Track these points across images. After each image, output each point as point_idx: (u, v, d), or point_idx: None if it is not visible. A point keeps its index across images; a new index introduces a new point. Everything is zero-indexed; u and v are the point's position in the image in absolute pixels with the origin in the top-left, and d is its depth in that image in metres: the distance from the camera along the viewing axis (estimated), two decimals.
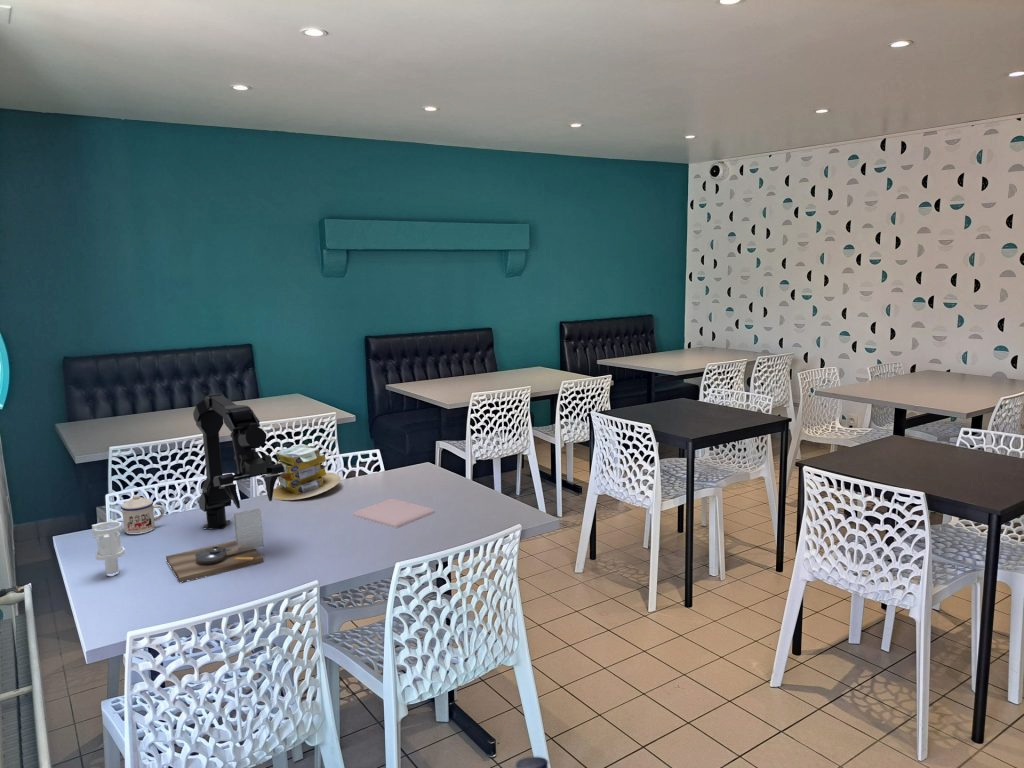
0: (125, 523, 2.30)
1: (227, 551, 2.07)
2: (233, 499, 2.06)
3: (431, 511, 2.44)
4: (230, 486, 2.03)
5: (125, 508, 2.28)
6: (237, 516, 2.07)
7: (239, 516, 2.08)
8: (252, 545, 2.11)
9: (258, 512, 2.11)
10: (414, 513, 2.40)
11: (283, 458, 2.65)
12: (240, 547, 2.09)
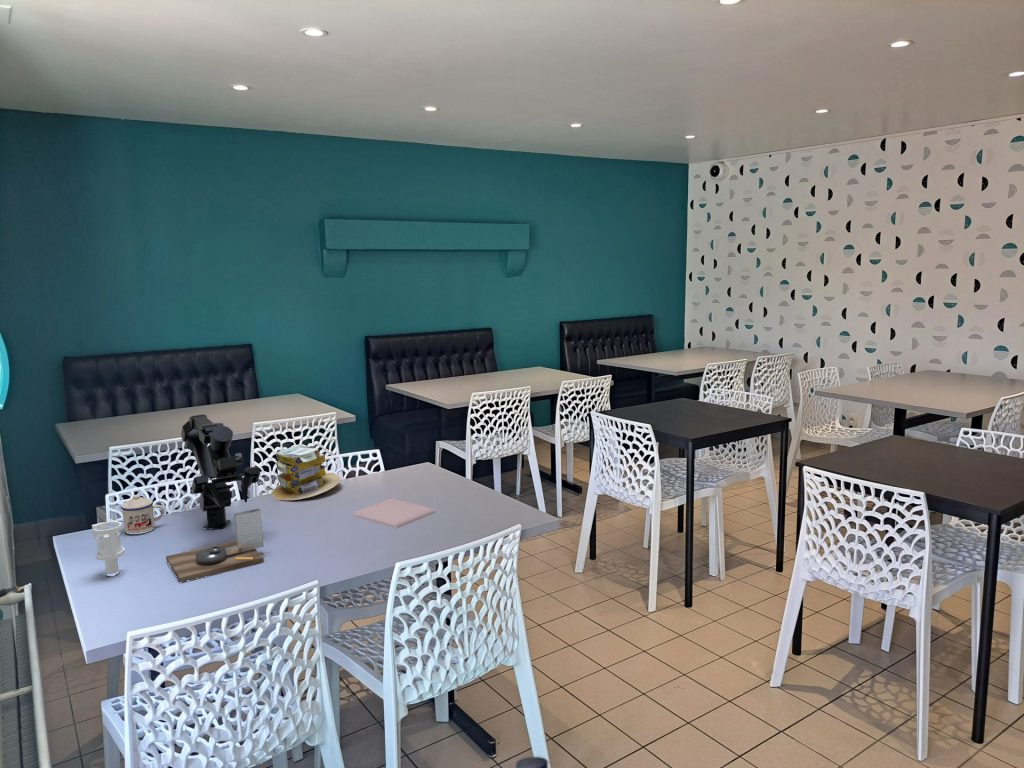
0: (125, 523, 2.30)
1: (227, 551, 2.07)
2: (215, 499, 2.14)
3: (431, 511, 2.44)
4: (209, 484, 2.14)
5: (125, 508, 2.28)
6: (237, 516, 2.07)
7: (239, 516, 2.08)
8: (252, 545, 2.11)
9: (258, 512, 2.11)
10: (414, 513, 2.40)
11: (283, 458, 2.65)
12: (240, 547, 2.09)
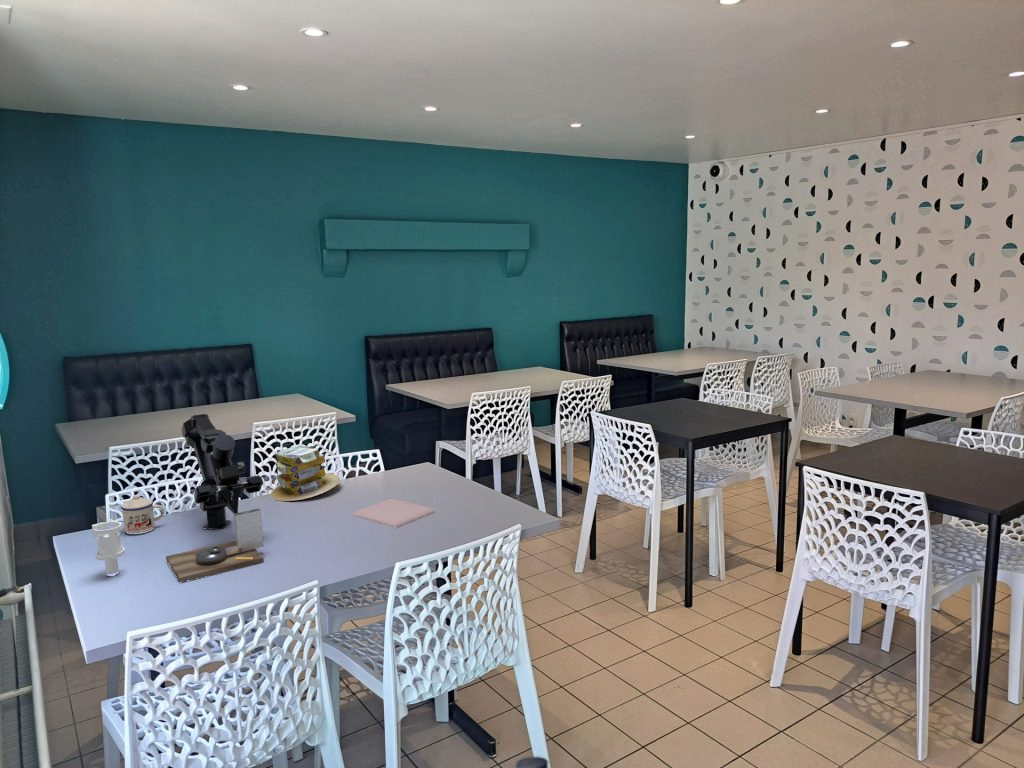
0: (125, 523, 2.30)
1: (227, 551, 2.07)
2: (229, 506, 2.15)
3: (431, 511, 2.44)
4: (223, 491, 2.14)
5: (125, 508, 2.28)
6: (237, 516, 2.07)
7: (239, 516, 2.08)
8: (252, 545, 2.11)
9: (258, 512, 2.11)
10: (414, 513, 2.40)
11: (282, 459, 2.65)
12: (240, 547, 2.09)
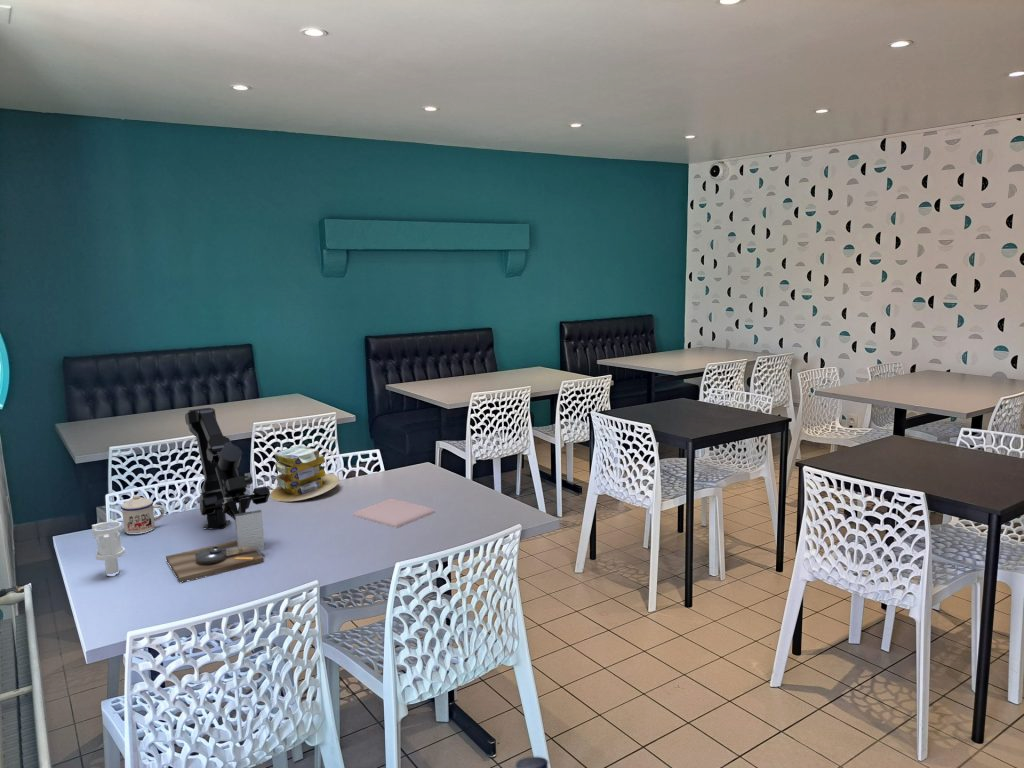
0: (125, 523, 2.30)
1: (227, 551, 2.06)
2: None
3: (431, 511, 2.44)
4: (230, 503, 2.09)
5: (125, 508, 2.28)
6: (237, 517, 2.06)
7: (239, 517, 2.07)
8: (253, 546, 2.10)
9: (259, 514, 2.09)
10: (414, 513, 2.40)
11: (282, 459, 2.64)
12: (240, 548, 2.08)
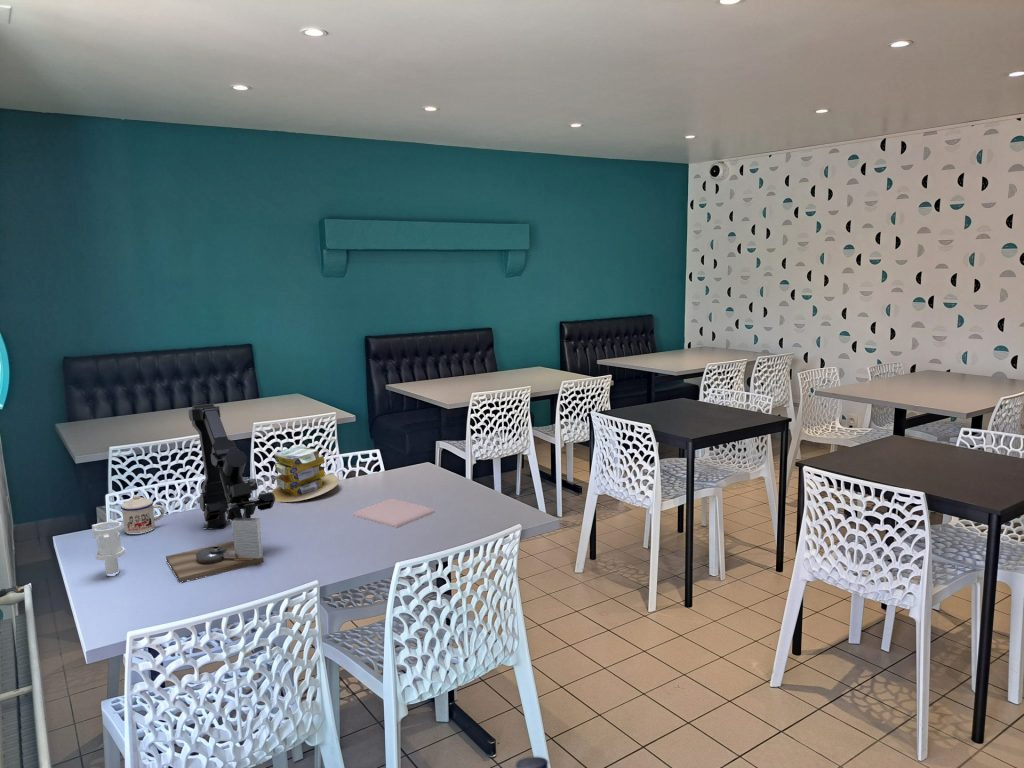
0: (125, 523, 2.30)
1: (224, 554, 2.05)
2: None
3: (431, 511, 2.44)
4: (234, 509, 2.06)
5: (125, 508, 2.28)
6: (233, 521, 2.03)
7: (235, 522, 2.03)
8: (248, 554, 2.04)
9: (254, 522, 2.03)
10: (414, 513, 2.40)
11: (282, 460, 2.63)
12: (236, 553, 2.04)
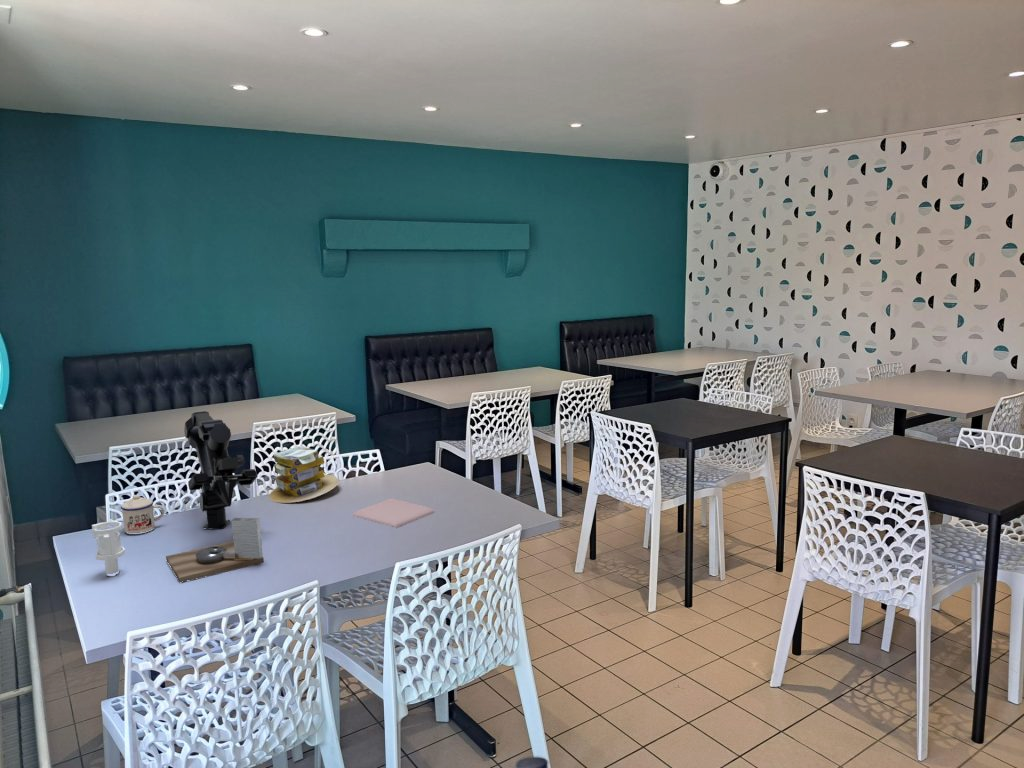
0: (125, 523, 2.30)
1: (224, 554, 2.05)
2: (223, 497, 2.16)
3: (431, 511, 2.45)
4: (219, 481, 2.15)
5: (125, 508, 2.28)
6: (233, 521, 2.03)
7: (235, 522, 2.03)
8: (248, 554, 2.04)
9: (254, 522, 2.03)
10: (414, 513, 2.40)
11: (281, 460, 2.62)
12: (236, 553, 2.04)
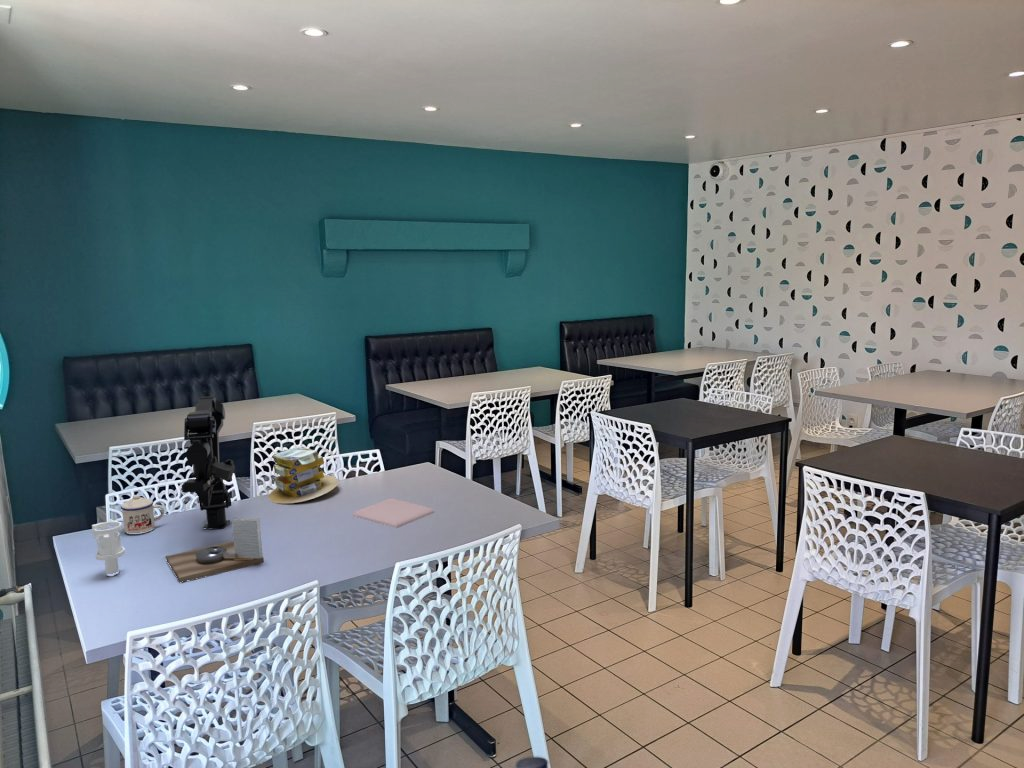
0: (125, 523, 2.30)
1: (224, 554, 2.05)
2: (204, 498, 2.17)
3: (431, 511, 2.45)
4: (211, 487, 2.16)
5: (125, 508, 2.28)
6: (233, 521, 2.03)
7: (235, 522, 2.03)
8: (248, 554, 2.04)
9: (254, 522, 2.03)
10: (414, 513, 2.40)
11: (281, 461, 2.62)
12: (236, 553, 2.04)
